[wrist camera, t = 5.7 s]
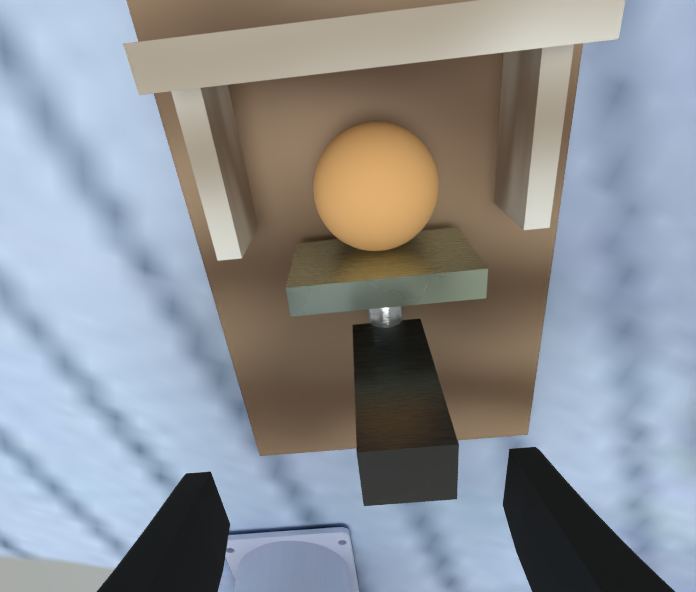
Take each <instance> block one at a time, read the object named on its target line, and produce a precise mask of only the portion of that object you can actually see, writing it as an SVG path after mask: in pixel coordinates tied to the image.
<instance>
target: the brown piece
mask: <svg viewBox="0 0 696 592" xmlns="http://www.w3.org/2000/svg"><path fill="white" fill-rule="evenodd" d="M126 1H127V4H128V7H129V11H130V14H131V18H132V21H133V24H134V28H135V31H136V35H137V38H138V41H139V42H133V43H125V44H123V45H124V48H125V51H126V54H127V57H128V61H129V64H130V67H131V70H132V74H133V77H134V80H135V83H136V87H137V90H138V93H139V95H144V94H152V93H154V96H155V99H156V103H157V106H158V110H159V113H160V116H161V120H162V123H163V127H164V130H165V134H166V137H167V140H168V144H169V147H170V151H171V154H172V157H173V161H174V164H175V168H176V171H177V174H178V178H179V181H180V185H181V188H182V192H183V195H184V198H185V202H186V205H187V209H188V212H189V215H190V219H191V222H192V226H193V229H194V232H195V236H196V239H197V243H198V246H199V250H200V253H201V256H202V260H203V263H204V267H205V270H206V273H207V277H208V280H209V284H210V287H211V290H212V294H213V297H214V301H215V304H216V308H217V311H218V314H219V318H220V321H221V325H222V328H223V331H224V335H225V338H226V342H227V345H228V348H229V352H230V355H231V359H232V362H233V366H234V369H235V372H236V376H237V379H238V383H239V386H240V389H241V393H242V396H243V400H244V403H245V406H246V410H247V413H248V417H249V420H250V424H251V427H252V430H253V434H254V437H255V441H256V444H257V447H258V451H259V454H260V456H266V455H279V454H291V453H304V452H316V451H329V450H341V449H354V448H357V445H356V415H355V386H354V357H353V328H352V325H355V324H365V323H369V314H368V309H366V310H356V311H345V312H334V313H323V314H313V315H302V316H291V314H290V309H289V304H288V299H287V294H286V289H285V288H286V284H287V280H288V276H289V272H290V268H291V265H292V261H293V257H294V253H295V249H296V245H297V243H305V242H315V241H325V240H335V239H338V238H337V237H336V236H334V235H333V234H332V233H331V232H330V231H329V229H328V228H327V227H326V226H325V224H324V223H323V221H322V219H321V217H320V215H319V213H318V211H317V208H316V204H315V201H314V192H313V182H314V175H315V170H316V167H317V164H318V161H319V159H320V157H321V155H322V154H323V152H324V150H325V149H326V147H327V146H328V145H329V144H330V143H331V142H332V141H333V140H334V139H335V138H336V137H337V136H338V135H339V134H341V133H342V132H343V131H345V130H347V129H349V128H351V127H353V126H356V125H359V124H362V123H368V122H387V123H392V124H395V125H398V126H401V127H403V128H405V129H407V130H409V131H410V132H412V133H413V134H415V135H416V136H417V137H418V138H419V139H420V140H421V141H422V142H423V143H424V144H425V146H426V147H427V148H428V150H429V152H430V153H431V155H432V157H433V159H434V162H435V165H436V168H437V173H438V179H439V191H438V198H437V203H436V206H435V209H434V211H433V214H432V216H431V218H430V219H429V221H428V222H427V224H426V225H425V227H424V228H423V229H422V230H421V231H424V230H434V229H444V228H454V227H459V228H460V230H461V231H462V232H463V234H464V235H465V237H466V238H467V239H468V241H469V242H470V244H471V245H472V247H473V248H474V249H475V251H476V252H477V254H478V255H479V256H480V258H481V259H482V261H483V262H484V264H485V265H486V266H487V268H488V278H487V294H486V298H484V299H473V300H463V301H452V302H441V303H431V304H420V305H409V306H402V311H403V320H409V319H420V318H421V322H422V325H423V328H424V332H425V335H426V338H427V342H428V345H429V348H430V351H431V355H432V358H433V361H434V365H435V368H436V371H437V375H438V378H439V381H440V384H441V388H442V391H443V394H444V398H445V401H446V404H447V408H448V411H449V414H450V417H451V421H452V424H453V427H454V431H455V434H456V437H457V440H466V439H479V438H491V437H504V436H516V435H528V428H529V421H530V414H531V407H532V400H533V393H534V386H535V379H536V372H537V365H538V358H539V351H540V344H541V336H542V329H543V322H544V315H545V308H546V301H547V294H548V287H549V280H550V273H551V266H552V259H553V252H554V245H555V238H556V231H557V223H558V216H559V209H560V202H561V195H562V188H563V181H564V174H565V167H566V160H567V153H568V146H569V139H570V132H571V125H572V117H573V110H574V103H575V96H576V89H577V82H578V75H579V68H580V61H581V54H582V47H583V43H588V42H597V41H605V40H614V39H619V33H620V28H621V22H622V16H623V11H624V5H625V0H126Z"/></svg>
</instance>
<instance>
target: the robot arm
mask: <svg viewBox="0 0 696 592" xmlns="http://www.w3.org/2000/svg"><path fill="white" fill-rule="evenodd" d="M503 507H504V511H505V514H506V518H507V521H508V525H509V528H510V532H511V535H512V539H513V542H514V545H515V549H516V552H517V554H518V557H519V559H520V562H521V565H522V567H523V570H524V572H525V575H526V577H527V580H528V582H529V585H530V587H531V590H532V592H675V591H674V590H673V589H672V588H671V587H670V586H669V585H667V584H666V583H665V582H664V581H663V580H662V579H661V578H660V577H659V576H658V575H657V574H656V573H655V572H654V571H653V570H652V569H651V568H650V567H649V566H648V565H647V564H645V563H644V562H643V561H642V560H641V559H640V558H639V557H638V556H637V555H636V554H635V553H634V552H633V551H632V550H631V549H630V548H629V547H628V546H627V545H626V544H625V543H624V542H623V541H622V540H621V539H620V538H619V537H618V536H617V535H616V534H615V532H614V531H613V530H612V529H611V528H610V527H609V526H608V525H607V524H606V523H605V522H604V521H603V520H602V519H601V518H600V517H599V516H598V515H597V514H596V513H595V512H594V511H593V510H592V509H591V507H590V506H589V505H588V504H587V503H586V502H585V501H584V500H583V499H582V498H581V497H580V495H579V494H578V493H577V492H576V491H575V490H574V489H573V488H572V487H571V486H570V484H569V483H568V482H567V481H566V480H565V479H564V478H563V477H562V475H561V474H560V473H559V472H558V471H557V470H556V469H555V467H554V466H553V465H552V464H551V463H550V462H549V461H548V459H547V458H546V457H545V456H544V455H543V454H542V452H541V451H540V450H539V449H537V448H536V447H529V448H516V449H509V458H508V466H507V474H506V483H505V491H504V499H503ZM229 528H230V523H229V520H228V517H227V515H226V512H225V509H224V506H223V504H222V501H221V498H220V496H219V493H218V490H217V487H216V485H215V482H214V479H213V477H212V474H211V472H201V473H187V474H185V476H184V477H183V478H182V479H181V481H180V482H179V483H178V485H177V486H176V487H175V489H174V490H173V492H172V493H171V494H170V496H169V497H168V499H167V500H166V501H165V503H164V504H163V506H162V507H161V508H160V510H159V511H158V512H157V514H156V515H155V517H154V518H153V519H152V521H151V522H150V523H149V525H148V526H147V528H146V529H145V530H144V532H143V533H142V534H141V536H140V537H139V538H138V540H137V541H136V542H135V544H134V545H133V546H132V547H131V549H130V550H129V551H128V553H127V554H126V555H125V557H124V558H123V559H122V561H121V562H120V563H119V565H118V566H117V567H116V568H115V570H114V571H113V572H112V574H111V575H110V576H109V577H108V579H107V580H106V581H105V582H104V583H103V585H102V586H101V587H100V588H99V590H98V591H97V592H218V588H219V584H220V580H221V576H222V572H223V567H224V561H225V557H226V560H227V562H228V564H229V567H230V569H231V572H232V574H233V576H234V579H235V581H236V582H235V587H234V591H233V592H359V586H358V580H357V574H356V568H355V562H354V556H353V550H352V544H351V538H350V532H349V530H348V529H347V528H345V527H333V528H319V529H306V530H292V531H278V532H264V533H250V534H236V535H229Z"/></svg>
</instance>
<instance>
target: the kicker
mask: <svg viewBox="0 0 696 592" xmlns="http://www.w3.org/2000/svg"><path fill="white" fill-rule="evenodd" d="M487 278H488V268H487V266H486V265H485V264H484V262H483V261H482V259H481V258H480V256H479V255H478V254H477V252H476V251H475V249H474V248H473V247H472V245H471V244H470V242H469V241H468V239H467V238H466V237H465V235H464V234H463V232H462V231H461V230H460V228H459V227H454V228H444V229H434V230H424V231H420V232H419V233H418V234H417V235H416V236H415V237H414V238H412V239H411V240H410V241H408V242H406V243H405V244H403V245H400V246H398V247H395V248H392V249H389V250H383V251H367V250H361V249H358V248H354V247H352V246H350V245H348V244H346V243H344V242H342V241H341V240H339V239H335V240H325V241H315V242H305V243H297V245H296V249H295V253H294V257H293V261H292V265H291V268H290V272H289V276H288V280H287V284H286V288H285V289H286V294H287V299H288V304H289V309H290V314H291V316H302V315H313V314H323V313H334V312H345V311H356V310H366V309H368V314H369V323H365V324H355V325H352V328H353V357H354V386H355V415H356V445H357V458H358V465H359V473H360V480H361V488H362V495H363V503H364V506H371V505H384V504H398V503H411V502H425V501H438V500H452V499H457V480H458V449H459V444H458V441H457V437H456V434H455V431H454V427H453V424H452V421H451V417H450V414H449V411H448V408H447V404H446V401H445V398H444V394H443V391H442V388H441V384H440V381H439V378H438V375H437V371H436V368H435V365H434V361H433V358H432V355H431V351H430V348H429V345H428V342H427V338H426V335H425V332H424V328H423V325H422V322H421V318H420V319H409V320H403V311H402V306H409V305H420V304H431V303H441V302H452V301H463V300H473V299H484V298H486V294H487Z"/></svg>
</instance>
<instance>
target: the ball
mask: <svg viewBox="0 0 696 592" xmlns="http://www.w3.org/2000/svg"><path fill="white" fill-rule="evenodd" d="M438 191H439V179H438V173H437V168H436V165H435V162H434V159H433V157H432V155H431V153H430V152H429V150H428V148H427V147H426V146H425V144H424V143H423V142H422V141H421V140H420V139H419V138H418V137H417V136H416V135H415V134H413V133H412V132H410V131H409V130H407V129H405V128H403V127H401V126H398V125H395V124H392V123H387V122H368V123H362V124H359V125H356V126H353V127H351V128H349V129H347V130H345V131H343V132H342V133H341V134H339V135H338V136H337V137H336V138H335V139H334V140H333V141H332V142H331V143H330V144H329V145H328V146H327V147H326V149H325V150H324V152H323V154H322V155H321V157H320V159H319V161H318V164H317V167H316V170H315V175H314V182H313V192H314V201H315V204H316V208H317V211H318V213H319V215H320V217H321V219H322V221H323V223H324V224H325V226H326V227H327V228H328V229H329V231H330V232H331V233H332V234H333V235H334V236H336V237H337V238H338V239H339V240H341V241H342V242H344V243H346V244H348V245H350V246H352V247H354V248H358V249H361V250H367V251H383V250H389V249H392V248H395V247H398V246H400V245H403V244H405V243H406V242H408V241H410V240H411V239H412V238H414V237H415V236H416V235H417V234H418V233H419V232H420V231H421V230H422V229H423V228H424V227H425V225H426V224H427V222H428V221H429V219H430V218H431V216H432V214H433V211H434V209H435V206H436V203H437V198H438Z"/></svg>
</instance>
